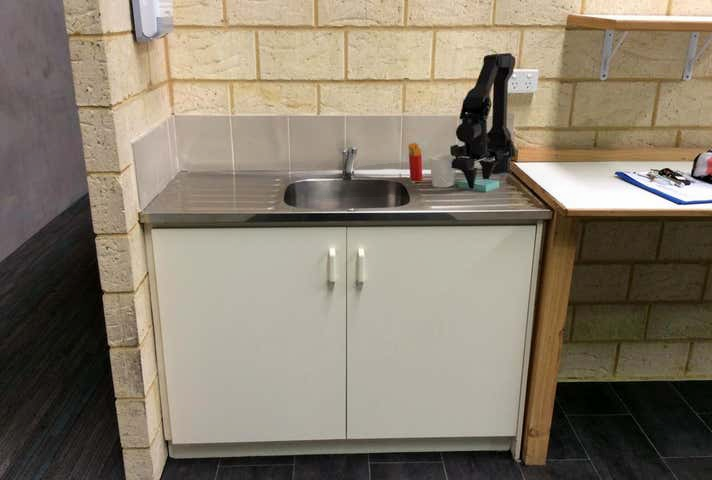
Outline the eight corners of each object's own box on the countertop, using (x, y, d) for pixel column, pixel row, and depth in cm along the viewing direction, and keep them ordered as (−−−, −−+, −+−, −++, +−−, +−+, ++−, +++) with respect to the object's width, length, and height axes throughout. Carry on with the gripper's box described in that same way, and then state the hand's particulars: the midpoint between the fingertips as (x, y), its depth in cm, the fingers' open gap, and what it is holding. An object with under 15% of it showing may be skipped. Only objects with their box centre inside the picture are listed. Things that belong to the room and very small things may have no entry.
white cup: (454, 190, 193) (453, 159, 190) (430, 191, 195) (428, 160, 192) (456, 184, 200) (455, 154, 197) (432, 184, 202) (430, 155, 199)
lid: (471, 182, 196) (471, 176, 196) (499, 187, 188) (499, 181, 188) (458, 187, 192) (457, 181, 192) (486, 192, 184) (485, 185, 184)
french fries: (422, 183, 205) (420, 145, 200) (410, 184, 205) (408, 146, 201) (422, 177, 213) (420, 140, 209) (410, 178, 214) (408, 141, 209)
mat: (473, 184, 198) (473, 181, 198) (503, 189, 189) (503, 186, 189) (453, 191, 192) (453, 188, 192) (483, 196, 183) (483, 193, 183)
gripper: (475, 129, 197) (476, 176, 202) (437, 139, 185) (439, 189, 191) (504, 131, 188) (504, 180, 194) (465, 142, 177) (466, 194, 182)
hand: (478, 185), depth 190 cm, fingers closed on lid, 6 cm apart
